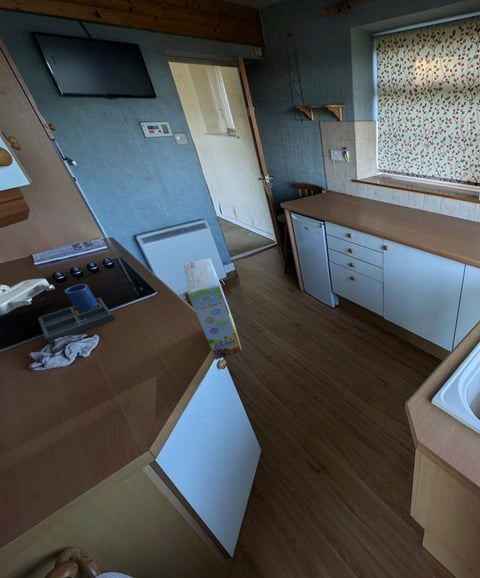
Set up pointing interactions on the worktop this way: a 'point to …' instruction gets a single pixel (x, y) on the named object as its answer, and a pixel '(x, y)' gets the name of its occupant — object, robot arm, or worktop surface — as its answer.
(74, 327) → the grey divided tray
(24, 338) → the worktop surface
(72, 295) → the cup
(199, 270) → the snack box
